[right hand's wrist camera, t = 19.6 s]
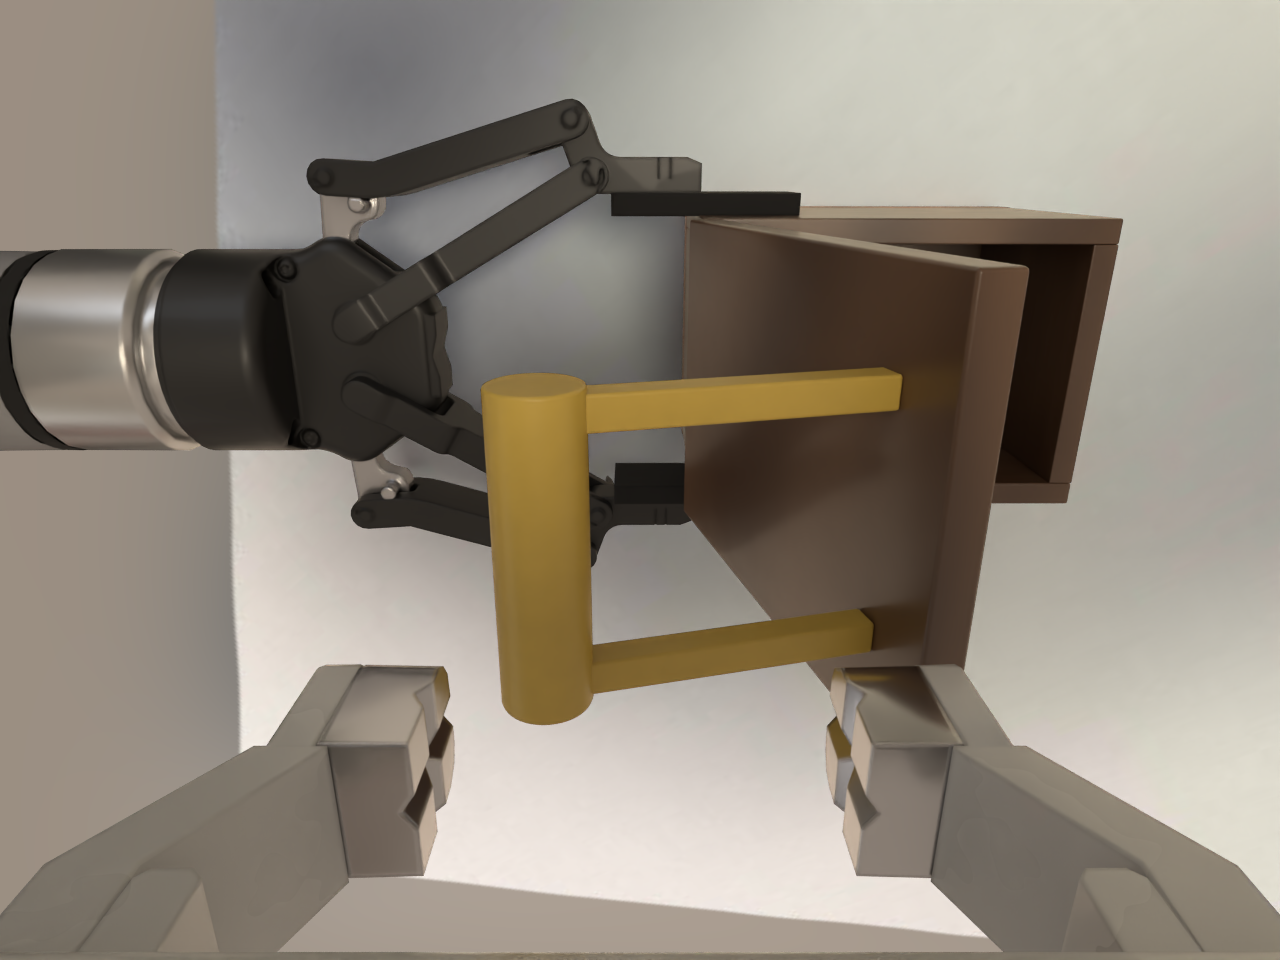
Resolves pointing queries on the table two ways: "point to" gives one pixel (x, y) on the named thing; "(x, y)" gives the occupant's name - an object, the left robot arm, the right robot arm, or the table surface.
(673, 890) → the table surface
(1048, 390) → the brown wooden box
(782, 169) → the table surface
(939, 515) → the door
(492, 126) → the left robot arm
